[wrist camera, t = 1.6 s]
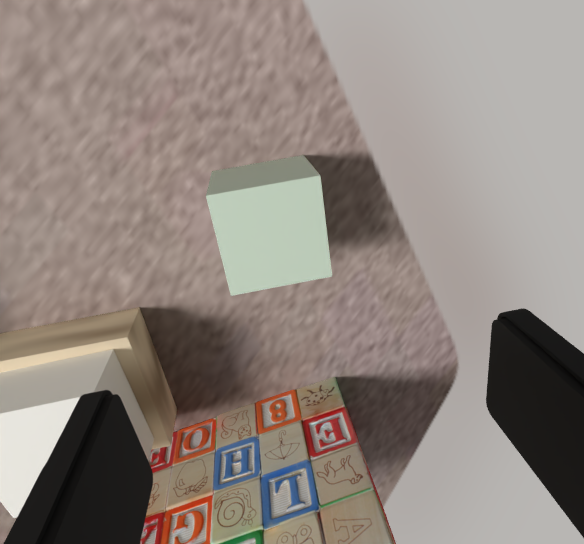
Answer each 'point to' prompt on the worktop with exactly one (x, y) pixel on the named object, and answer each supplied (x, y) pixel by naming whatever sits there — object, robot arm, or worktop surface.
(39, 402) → the tower top
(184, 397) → the worktop surface
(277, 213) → the sage cube
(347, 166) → the worktop surface
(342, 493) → the stack of blocks
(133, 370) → the tower base
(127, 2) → the worktop surface
